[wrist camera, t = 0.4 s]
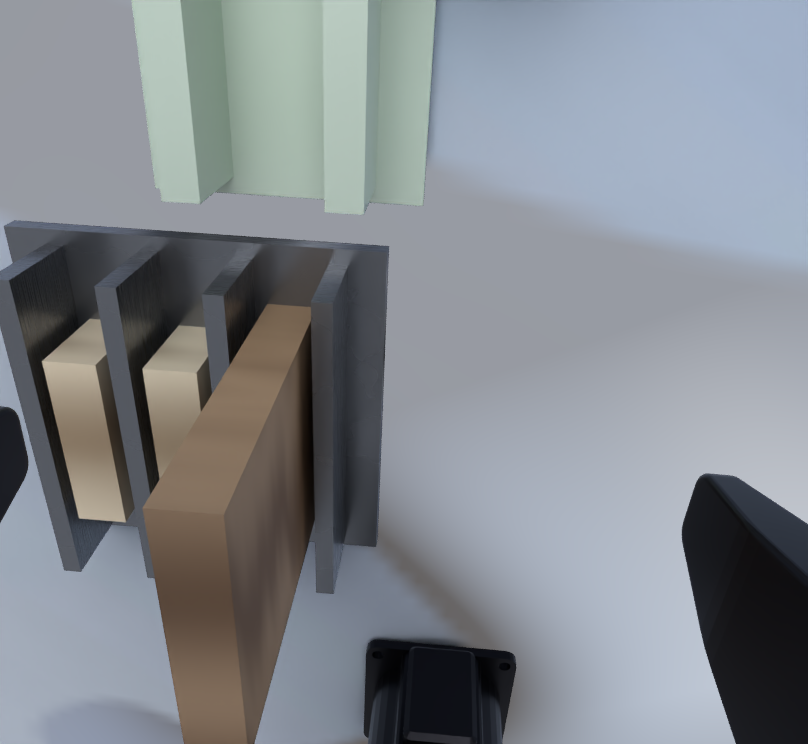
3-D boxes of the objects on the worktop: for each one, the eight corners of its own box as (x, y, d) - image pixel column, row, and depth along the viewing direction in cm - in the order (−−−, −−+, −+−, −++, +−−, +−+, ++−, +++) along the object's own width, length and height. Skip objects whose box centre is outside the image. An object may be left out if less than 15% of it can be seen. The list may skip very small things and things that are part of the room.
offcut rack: (377, 536, 27) (367, 606, 24) (82, 511, 28) (34, 577, 25) (388, 246, 21) (377, 289, 18) (14, 220, 22) (-60, 258, 19)
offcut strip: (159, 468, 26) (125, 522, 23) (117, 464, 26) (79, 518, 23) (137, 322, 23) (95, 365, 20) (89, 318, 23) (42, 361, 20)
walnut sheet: (319, 502, 26) (249, 761, 17) (277, 498, 26) (186, 755, 17) (316, 307, 22) (223, 514, 13) (267, 304, 22) (142, 508, 13)
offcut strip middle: (239, 474, 26) (214, 529, 23) (196, 471, 26) (166, 525, 23) (226, 329, 23) (196, 373, 20) (178, 325, 23) (142, 368, 20)
